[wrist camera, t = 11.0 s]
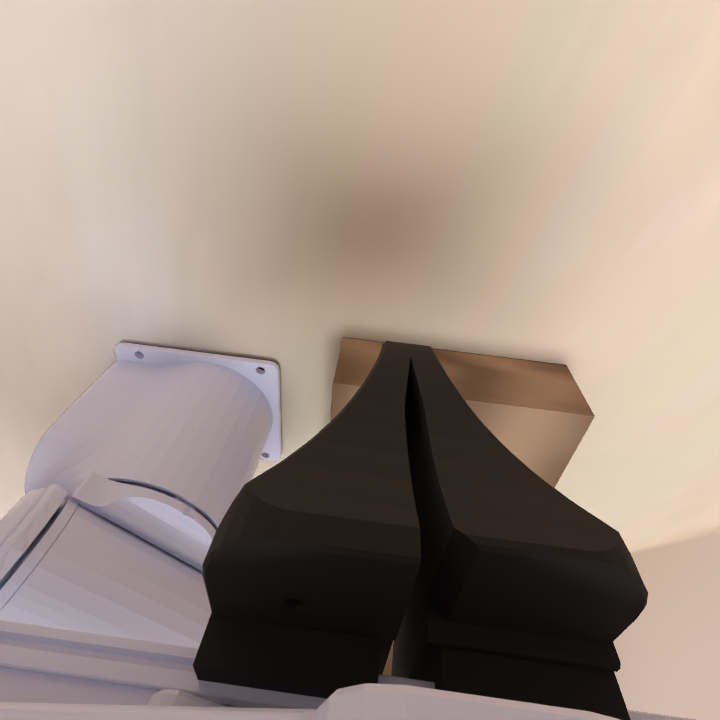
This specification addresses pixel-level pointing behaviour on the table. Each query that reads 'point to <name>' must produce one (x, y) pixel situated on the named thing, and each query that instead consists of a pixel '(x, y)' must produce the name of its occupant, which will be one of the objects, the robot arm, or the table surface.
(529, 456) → the block
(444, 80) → the table surface
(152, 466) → the robot arm
